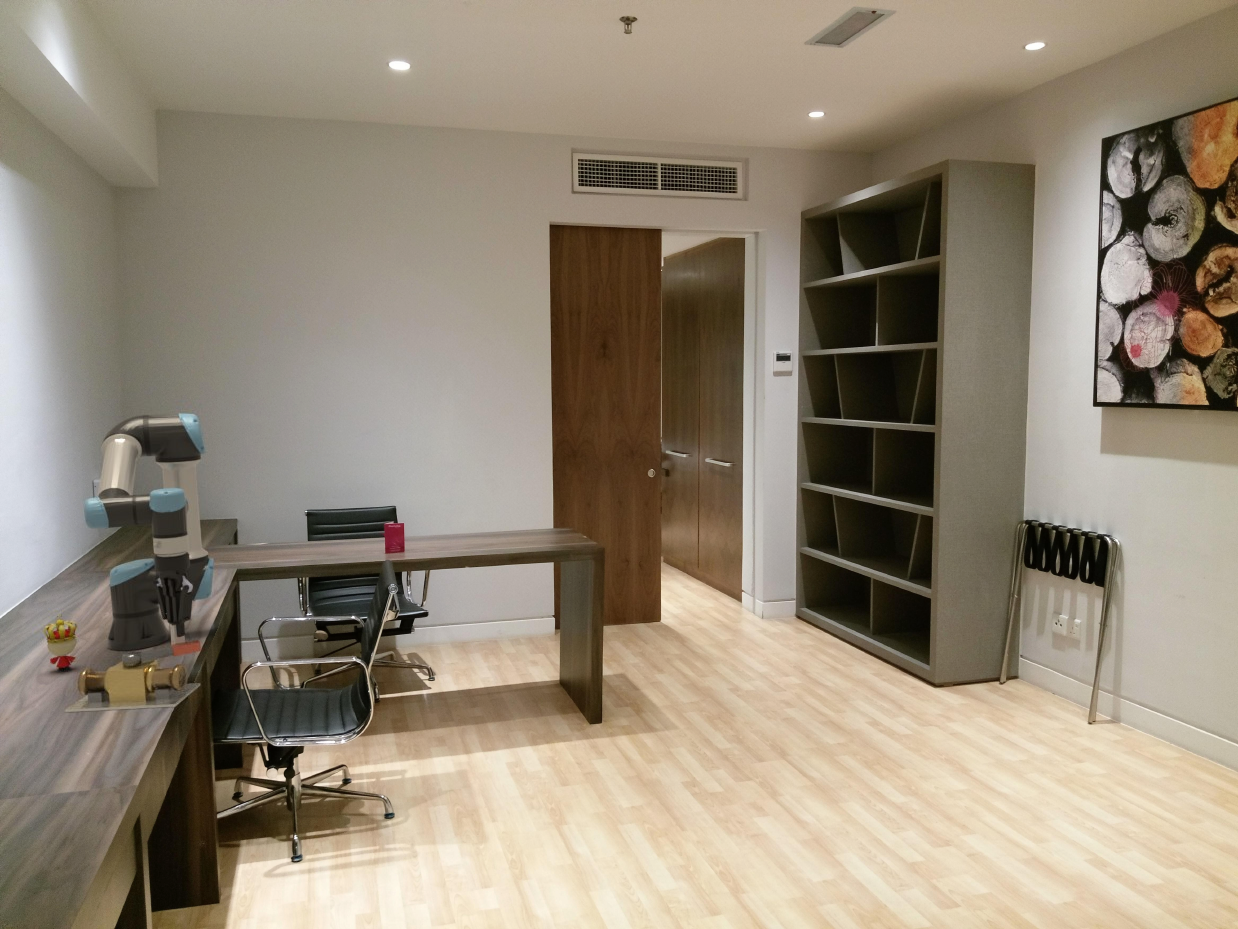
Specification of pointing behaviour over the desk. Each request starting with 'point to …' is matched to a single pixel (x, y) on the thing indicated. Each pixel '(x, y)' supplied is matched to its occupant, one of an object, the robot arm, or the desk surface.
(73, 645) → the toy
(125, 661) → the lever
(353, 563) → the desk surface
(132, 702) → the valve body
